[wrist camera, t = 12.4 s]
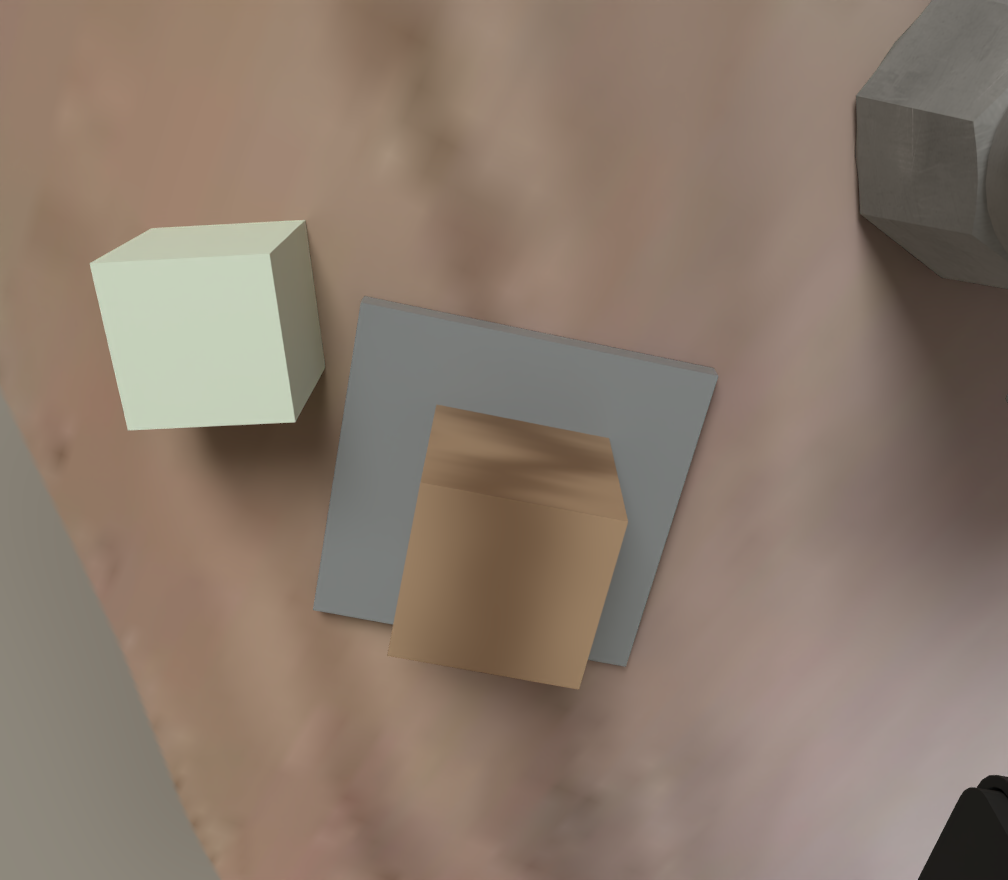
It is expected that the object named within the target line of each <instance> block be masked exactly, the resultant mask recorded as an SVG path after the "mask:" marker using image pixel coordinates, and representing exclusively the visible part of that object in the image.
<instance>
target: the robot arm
mask: <svg viewBox="0 0 1008 880" xmlns="http://www.w3.org/2000/svg"><path fill="white" fill-rule="evenodd" d="M918 880H1008V777H1005V776H999V775H989V776H988V777H986V778H984V779H983V780H982V781H981V782H980V784H979V785H978V786H977V788H968V789H966V790H965V791H964V792H963V793H962V795H961V796H960V798H959V800H958V802H957V804H956V806H955V808H954V809H953V811H952V813H951V815H950V817H949V819H948V821H947V823H946V825H945V827H944V829H943V831H942V833H941V835H940V837H939V839H938V841H937V843H936V845H935V847H934V849H933V851H932V853H931V855H930V857H929V859H928V861H927V863H926V865H925V867H924V868H923V870H922V872H921V874H920V876H919V878H918Z"/></svg>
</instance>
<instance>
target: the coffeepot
mask: <svg viewBox="0 0 1008 880" xmlns="http://www.w3.org/2000/svg"><path fill="white" fill-rule="evenodd" d="M856 110H857V133H856V148H855V158H856V165H857V173H858V180H859V199H860V214H861V215H862V216H864V217H865V218H866V219H867V220H869V221H870V222H871V223H872V224H874V225H875V226H876V227H878V228H879V229H880V230H881V231H883V232H884V233H885V234H886V235H888V236H889V237H890V238H891V239H893V240H894V241H895V242H896V243H898V244H899V245H900V246H902V247H903V248H904V249H906V250H907V251H908V252H909V253H911V254H912V255H913V256H915V257H916V258H917V259H918V260H920V261H921V262H922V263H924V264H925V265H926V266H927V267H929V268H930V269H931V270H932V271H934V272H935V273H936V274H938V275H939V276H940V277H941V278H947V279H953V280H958V281H964V282H970V283H976V284H981V285H987V286H993V287H999V288H1004V289H1008V0H932V1H931V2H930V4H929V5H928V6H927V7H926V9H925V10H924V11H923V12H922V13H921V15H920V16H919V17H918V18H917V19H916V21H915V22H914V23H913V24H912V25H911V26H910V27H909V28H908V29H907V30H906V31H905V32H904V33H903V34H902V36H901V37H900V38H899V39H898V40H897V41H896V42H895V43H894V45H893V46H892V48H891V49H890V51H889V52H888V54H887V55H886V57H885V58H884V60H883V61H882V62H881V64H880V65H879V67H878V68H877V70H876V71H875V73H874V74H873V75H872V77H871V78H870V79H869V80H868V82H867V83H866V84H865V85H864V87H863V88H862V89H861V90H860V92H859V93H858V94H857V95H856ZM1006 401H1007V403H1008V395H1007V396H1006Z"/></svg>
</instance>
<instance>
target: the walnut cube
mask: <svg viewBox="0 0 1008 880" xmlns="http://www.w3.org/2000/svg"><path fill="white" fill-rule="evenodd" d="M627 524H628V519H627V514H626V510H625V505H624V501H623V497H622V492H621V488H620V484H619V479H618V475H617V470H616V466H615V462H614V457H613V453H612V449H611V444H610V440H609V438H606V437H601V436H595V435H590V434H585V433H580V432H575V431H570V430H565V429H560V428H555V427H549V426H544V425H539V424H534V423H529V422H524V421H519V420H514V419H509V418H503V417H498V416H493V415H488V414H483V413H478V412H473V411H468V410H463V409H457V408H452V407H447V406H442V405H437V404H436V409H435V414H434V418H433V423H432V428H431V433H430V438H429V443H428V448H427V453H426V457H425V462H424V467H423V472H422V477H421V482H420V487H419V492H418V497H417V503H416V508H415V513H414V518H413V524H412V529H411V534H410V539H409V544H408V550H407V555H406V560H405V565H404V571H403V576H402V581H401V586H400V591H399V597H398V602H397V607H396V612H395V618H394V623H393V628H392V633H391V638H390V644H389V649H388V654H387V656H391V657H397V658H402V659H408V660H414V661H419V662H425V663H431V664H436V665H442V666H448V667H454V668H459V669H465V670H471V671H476V672H482V673H488V674H493V675H499V676H505V677H510V678H516V679H522V680H527V681H533V682H539V683H545V684H550V685H556V686H562V687H567V688H573V689H579V688H580V685H581V681H582V678H583V674H584V671H585V667H586V664H587V661H588V657H589V654H590V650H591V647H592V644H593V640H594V637H595V633H596V630H597V627H598V623H599V620H600V616H601V613H602V609H603V606H604V603H605V599H606V596H607V592H608V589H609V586H610V582H611V579H612V575H613V572H614V569H615V565H616V562H617V558H618V555H619V552H620V548H621V545H622V541H623V538H624V534H625V531H626V528H627Z"/></svg>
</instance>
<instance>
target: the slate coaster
mask: <svg viewBox="0 0 1008 880" xmlns="http://www.w3.org/2000/svg"><path fill="white" fill-rule="evenodd" d="M717 379H718V375H717V373H716V371H715V369H714V368H711V367H706V366H701V365H696V364H691V363H687V362H682V361H677V360H672V359H667V358H662V357H657V356H653V355H648V354H643V353H638V352H633V351H628V350H624V349H619V348H614V347H609V346H604V345H599V344H594V343H590V342H585V341H580V340H575V339H570V338H565V337H561V336H556V335H551V334H546V333H541V332H536V331H531V330H527V329H522V328H517V327H512V326H507V325H502V324H498V323H493V322H488V321H483V320H478V319H473V318H468V317H464V316H459V315H454V314H449V313H444V312H439V311H435V310H430V309H425V308H420V307H415V306H410V305H405V304H401V303H396V302H391V301H386V300H381V299H376V298H372V297H367V296H364V298H363V299H362V301H361V305H360V311H359V318H358V324H357V330H356V337H355V343H354V350H353V356H352V363H351V369H350V376H349V382H348V388H347V395H346V401H345V408H344V414H343V421H342V427H341V434H340V440H339V446H338V453H337V459H336V466H335V472H334V479H333V485H332V492H331V498H330V504H329V511H328V517H327V524H326V530H325V537H324V543H323V550H322V556H321V562H320V569H319V575H318V582H317V588H316V595H315V601H314V608H313V610H316V611H322V612H327V613H333V614H338V615H344V616H349V617H355V618H360V619H366V620H371V621H377V622H382V623H388V624H393V623H394V618H395V612H396V607H397V602H398V597H399V591H400V586H401V581H402V576H403V571H404V565H405V560H406V555H407V550H408V544H409V539H410V534H411V529H412V524H413V518H414V513H415V508H416V503H417V497H418V492H419V487H420V482H421V477H422V472H423V467H424V462H425V457H426V453H427V448H428V443H429V438H430V433H431V428H432V423H433V418H434V414H435V409H436V404H437V405H442V406H447V407H452V408H457V409H463V410H468V411H473V412H478V413H483V414H488V415H493V416H498V417H503V418H509V419H514V420H519V421H524V422H529V423H534V424H539V425H544V426H549V427H555V428H560V429H565V430H570V431H575V432H580V433H585V434H590V435H595V436H601V437H606V438H609V440H610V444H611V449H612V453H613V457H614V462H615V466H616V470H617V475H618V479H619V484H620V488H621V492H622V497H623V501H624V505H625V510H626V514H627V519H628V524H627V528H626V531H625V534H624V538H623V541H622V545H621V548H620V552H619V555H618V558H617V562H616V565H615V569H614V572H613V575H612V579H611V582H610V586H609V589H608V592H607V596H606V599H605V603H604V606H603V609H602V613H601V616H600V620H599V623H598V627H597V630H596V633H595V637H594V640H593V644H592V647H591V650H590V654H589V657H588V660H592V661H597V662H603V663H608V664H614V665H619V666H625V667H626V665H627V661H628V658H629V655H630V652H631V649H632V646H633V643H634V639H635V636H636V633H637V630H638V627H639V624H640V621H641V617H642V614H643V611H644V608H645V605H646V602H647V599H648V595H649V592H650V589H651V586H652V583H653V580H654V577H655V573H656V570H657V567H658V564H659V561H660V558H661V555H662V551H663V548H664V545H665V542H666V539H667V536H668V533H669V529H670V526H671V523H672V520H673V517H674V514H675V511H676V507H677V504H678V501H679V498H680V495H681V492H682V489H683V485H684V482H685V479H686V476H687V473H688V470H689V467H690V463H691V460H692V457H693V454H694V451H695V448H696V445H697V441H698V438H699V435H700V432H701V429H702V426H703V423H704V419H705V416H706V413H707V410H708V407H709V404H710V401H711V397H712V394H713V391H714V388H715V385H716V382H717Z"/></svg>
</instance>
